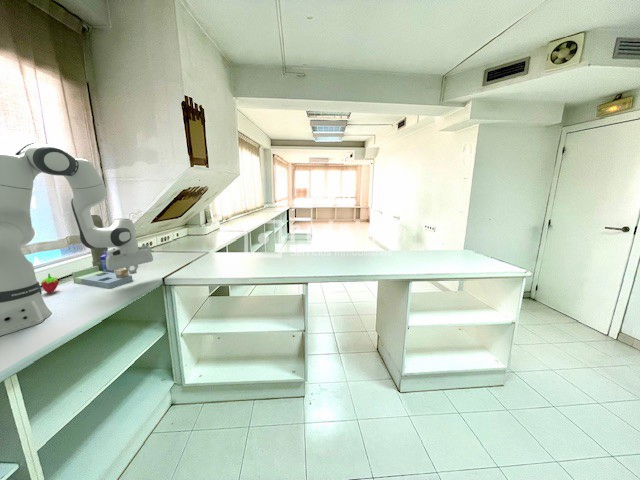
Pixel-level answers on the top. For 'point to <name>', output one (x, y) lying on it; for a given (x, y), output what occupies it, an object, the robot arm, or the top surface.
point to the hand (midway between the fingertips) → (133, 273)
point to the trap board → (99, 278)
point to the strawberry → (49, 284)
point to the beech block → (121, 273)
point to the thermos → (97, 251)
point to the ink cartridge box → (103, 262)
